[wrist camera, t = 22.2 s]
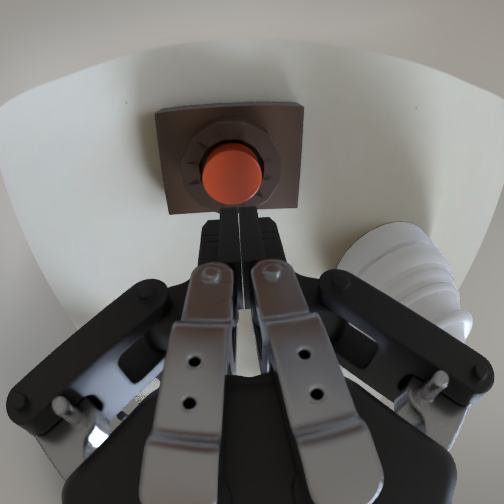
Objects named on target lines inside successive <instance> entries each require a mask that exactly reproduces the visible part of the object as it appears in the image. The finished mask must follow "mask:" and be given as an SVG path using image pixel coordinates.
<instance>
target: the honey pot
mask: <svg viewBox="0 0 504 504" xmlns="http://www.w3.org/2000/svg"><path fill="white" fill-rule="evenodd" d="M337 269H340V270H345V271H348V272H350V273H352V274H353V275H355V276H357V277H358V278H360V279H362V280H363V281H365V282H367V283H368V284H370V285H372V286H373V287H375V288H377V289H378V290H380V291H382V292H383V293H385V294H387V295H388V296H390V297H391V298H393V299H395V300H396V301H398V302H400V303H401V304H403V305H404V306H406V307H408V308H409V309H411V310H413V311H414V312H416V313H417V314H419V315H420V316H422V317H424V318H425V319H427V320H428V321H430V322H432V323H433V324H435V325H436V326H438V327H439V328H441V329H442V330H444V331H446V332H447V333H449V334H450V335H452V336H453V337H455V338H456V339H458V340H459V341H461V342H462V343H464V344H465V339H466V337H467V336H468V334H469V332H470V330H471V328H472V324H473V321H472V316H471V315H470V314H469V313H468V312H467V311H463V310H461V309H460V305H459V293H458V290H457V289H456V288H455V282H454V279H453V276H452V272H451V268H450V264H449V262H448V260H447V259H446V258H445V257H444V256H443V254H442V253H441V252H440V250H439V249H438V248H437V247H436V245H435V244H434V243H433V242H432V241H431V240H430V238H429V237H428V236H427V235H426V234H425V233H424V232H423V231H422V230H421V229H420V228H419V227H418V226H416V225H414V224H411V223H409V222H394V223H389V224H385V225H382V226H380V227H378V228H375V229H373V230H371V231H369V232H368V233H366V234H365V235H364V236H362V237H361V238H360V239H358V240H357V241H356V242H355V243H354V244H353V245H352V246H351V247H350V248H349V249H348V250H347V251H346V252H345V254H344V256H343V257H342V259H341V261H340V262H339V264H338V266H337ZM349 324H350V323H349ZM350 325H351V326H353V325H352V324H350ZM353 327H354V328H356V327H355V326H353ZM356 329H357V330H359V329H358V328H356ZM359 331H360V332H362V331H361V330H359ZM362 333H363V334H365V333H364V332H362ZM365 335H366V336H368V335H367V334H365ZM368 337H369V338H371V337H370V336H368ZM371 339H372V340H374V339H373V338H371ZM374 341H375V340H374ZM375 342H376V341H375Z"/></svg>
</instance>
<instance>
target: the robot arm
mask: <svg viewBox="0 0 504 504" xmlns="http://www.w3.org/2000/svg"><path fill="white" fill-rule="evenodd" d="M239 226H240V238H239ZM200 242H201V243H200V250H199V258H198V267H196V268H195V269H194V270H193V272H192V274H191V277H190V279H189V280H188V281H186V282H184V283H182V284H179V285H176V286H172V287H169V288H167V286H166V285H165V283H163V282H162V281H160V280H157V279H146V280H143V281H140V282H138V283H136V284H135V285H133V286H132V287H131V288H130V289H128V290H127V291H126V292H124V293H123V294H122V295H121V296H119V297H118V298H117V299H116V300H114V301H113V302H112V303H111V304H109V305H108V306H107V307H106V308H104V309H103V310H102V311H101V312H99V313H98V314H97V315H96V316H95V317H93V318H92V319H91V320H90V321H88V322H87V323H86V324H85V325H84V326H82V327H81V328H80V329H79V330H78V331H76V332H75V333H74V334H73V335H72V336H71V337H69V338H68V339H67V340H66V341H65V342H63V343H62V344H61V345H60V346H59V347H58V348H56V349H55V350H54V351H53V352H52V353H51V354H50V355H48V357H46V358H45V359H44V360H43V361H42V362H41V363H39V364H38V365H37V366H36V367H35V368H34V369H33V370H32V371H31V372H29V373H28V374H27V375H26V376H25V377H24V378H23V379H22V380H21V381H20V382H18V383H17V384H16V385H15V386H14V387H13V388H12V389H11V391H10V392H9V394H8V397H7V401H6V409H7V413H8V416H9V418H10V419H11V420H12V421H13V422H14V423H16V424H17V425H19V426H20V427H22V428H23V429H25V430H27V431H28V432H29V433H30V434H32V435H33V436H34V437H35V438H36V440H37V441H38V443H39V444H40V446H41V447H42V449H43V451H44V452H45V454H46V455H47V457H48V458H49V460H50V461H51V463H52V464H53V466H54V467H55V468H56V470H57V471H58V473H59V474H60V475H61V477H62V478H63V479H64V481H65V484H64V487H63V490H62V504H451V503H452V498H453V494H454V490H455V486H456V480H457V470H456V465H455V462H454V460H453V458H452V456H451V454H450V453H449V451H450V449H451V447H452V445H453V443H454V441H455V439H456V437H457V434H458V433H459V430H460V428H461V426H462V424H463V421H464V419H465V417H466V414H467V412H468V410H469V407H470V405H471V404H473V403H474V402H475V401H477V400H478V399H479V398H480V397H481V396H483V395H484V394H485V393H486V392H487V391H489V390H490V389H491V387H492V385H493V383H494V372H493V368H492V366H491V364H490V363H489V361H488V360H487V359H486V358H485V357H483V356H482V355H480V354H479V353H477V352H476V351H474V350H473V349H471V348H470V347H468V346H467V345H465V344H464V343H462V342H461V341H459V340H458V339H456V338H455V337H453V336H452V335H450V334H449V333H447V332H446V331H444V330H442V329H441V328H439V327H438V326H436V325H435V324H433V323H432V322H430V321H428V320H427V319H425V318H424V317H422V316H420V315H419V314H417V313H416V312H414V311H413V310H411V309H409V308H408V307H406V306H404V305H403V304H401V303H400V302H398V301H396V300H395V299H393V298H391V297H390V296H388V295H387V294H385V293H383V292H382V291H380V290H378V289H377V288H375V287H373V286H372V285H370V284H368V283H367V282H365V281H363V280H362V279H360V278H358V277H357V276H355V275H353V274H352V273H350V272H348V271H345V270H340V269H333V270H328V271H326V272H324V273H323V274H322V275H321V276H320V279H316V278H310V277H305V276H302V275H299V274H297V273H295V272H294V270H293V268H292V267H291V265H289V264H288V263H287V262H286V258H285V254H284V251H283V247H282V243H281V240H280V236H279V233H278V229H277V225H276V223H275V222H274V221H273V220H272V219H271V218H270V217H261V218H258V213H257V208H256V206H248V207H239V224H238V209H237V207H229V208H220V220H208V221H207V222H206V223H205V225H204V226H203V227H202V233H201V241H200ZM240 248H241V252H240ZM241 262H242V268H241ZM242 275H243V288H244V301H245V309H251V315H252V330H253V335H254V340H255V345H256V350H257V355H258V360H259V365H260V371H261V375H258V376H254V377H243V376H237V375H236V354H237V323H238V320H239V316H238V310H240V309H243V291H242ZM348 323H350V324H352V325H353V326H355V327H356V328H358V329H359V330H361V331H362V332H364V333H365V334H367V335H368V336H370V337H371V338H373V339H374V340H375V341H376V342H375V341H374V340H372V339H371V338H369V337H368V336H366V335H365V334H363V333H362V332H360V331H359V330H357V329H356V328H354V327H353V326H351V325H350V324H348ZM340 365H341V366H342V367H343V368H345V369H346V370H348V371H349V372H350V373H352V374H353V375H355V376H356V377H357V378H359V379H360V380H362V381H363V382H364V383H366V384H367V385H369V386H370V387H371V388H373V389H374V390H376V391H377V392H379V393H380V394H381V395H383V396H385V397H386V398H387V399H389V400H390V401H392V402H393V403H394V411H395V412H394V411H393V410H391V409H390V408H389V407H387V406H386V405H385V404H383V403H382V402H381V401H379V400H378V399H377V398H375V397H374V396H373V395H371V394H370V393H369V392H367V391H366V390H365V389H364V388H362V387H361V386H360V385H358V384H357V383H355V382H354V381H352V380H350V379H349V378H346V377H344V376H343V373H342V370H341V368H340ZM162 370H163V372H162V377H161V382H160V387H159V388H158V389H156V390H155V391H153V392H152V393H150V394H149V395H148V396H147V397H146V398H145V399H144V400H143V401H142V402H141V403H140V404H139V405H138V406H137V407H136V408H135V409H134V410H133V411H132V412H131V413H130V414H129V415H128V416H127V417H126V418H125V419H124V420H123V422H122V423H121V424H120V425H119V426H118V427H117V428H116V429H115V430H114V431H113V432H112V433H111V434H110V423H109V422H110V421H111V420H112V419H113V418H114V417H115V416H116V415H117V414H118V413H119V412H120V411H121V410H122V409H123V408H125V406H127V405H128V403H130V402H131V401H132V400H133V399H134V398H135V397H136V396H137V395H138V394H139V393H140V392H141V391H142V390H143V389H144V388H145V387H146V386H147V385H148V384H149V383H150V382H151V381H152V380H153V379H154V378H155V377H156V376H157V375H158V374H159V373H160V372H161V371H162Z"/></svg>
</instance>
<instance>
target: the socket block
mask: <svg viewBox="0 0 504 504" xmlns="http://www.w3.org/2000/svg"><path fill="white" fill-rule="evenodd" d="M303 119H304V107H303V106H302V105H300V104H298V103H293V102H233V103H214V104H201V105H190V106H180V107H172V108H164V109H161V110H160V111H158V112H157V113H155V120H156V129H157V138H158V146H159V153H160V160H161V167H162V174H163V181H164V187H165V193H166V199H167V205H168V211H169V215H173V214H186V213H200V212H217V213H219V214H220V208H229V207H237V209H238V213H239V207H248V206H256V208H257V209H280V208H297V206H298V194H299V181H300V168H301V153H302V137H303ZM226 143H238V144H242V145H244V146H246V147H248V148H249V149H251V150H252V151H253V153H254V154H255V155H256V157H257V159H258V162H259V165H260V168H261V172H262V181H261V185H260V187H259V189H258V191H257V192H256V193H255V194H254V196H252V197H251V198H250V199H248V200H247V201H245V202H242V203H239V204H224V203H221V202H218V201H216V200H215V199H213V198H212V197H211V196H210V195H209V194H208V193H207V192H206V190H205V188H204V186H203V182H202V173H203V168H204V163H205V160H206V158H207V156H208V154H209V153H210V152H211V151H212V150H213V149H215V148H216V147H218V146H220V145H222V144H226Z"/></svg>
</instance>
